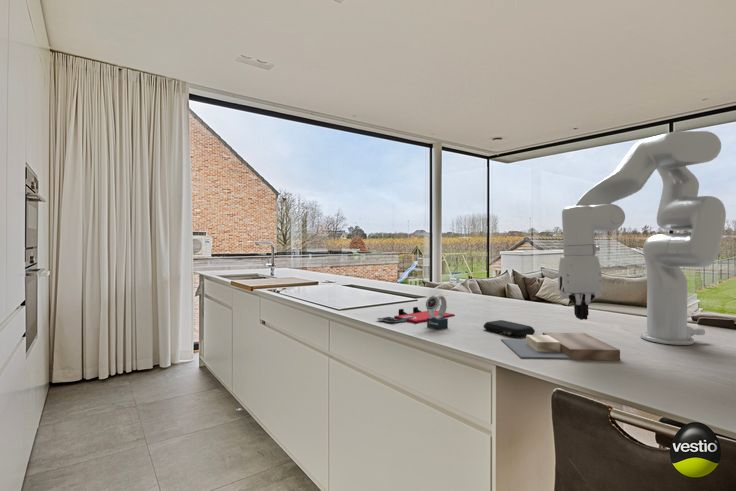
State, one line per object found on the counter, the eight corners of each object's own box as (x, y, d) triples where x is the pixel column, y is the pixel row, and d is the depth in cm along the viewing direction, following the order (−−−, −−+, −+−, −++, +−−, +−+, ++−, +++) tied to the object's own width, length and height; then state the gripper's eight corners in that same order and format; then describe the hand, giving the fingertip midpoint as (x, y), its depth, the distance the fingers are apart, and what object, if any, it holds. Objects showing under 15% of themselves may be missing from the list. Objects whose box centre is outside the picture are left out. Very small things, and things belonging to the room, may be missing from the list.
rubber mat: (542, 340, 115) (542, 339, 115) (570, 359, 97) (570, 357, 97) (501, 340, 116) (501, 339, 116) (520, 358, 98) (520, 356, 98)
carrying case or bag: (478, 330, 130) (515, 340, 118) (478, 321, 130) (515, 330, 118) (500, 327, 136) (537, 336, 123) (500, 318, 136) (537, 326, 123)
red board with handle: (372, 320, 147) (401, 327, 136) (373, 312, 147) (401, 319, 135) (425, 312, 166) (454, 317, 155) (425, 305, 166) (454, 310, 155)
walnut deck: (584, 341, 115) (584, 333, 115) (620, 359, 97) (620, 349, 97) (542, 340, 115) (542, 332, 115) (570, 359, 97) (570, 349, 97)
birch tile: (547, 343, 110) (547, 335, 110) (560, 351, 102) (560, 342, 102) (526, 343, 111) (526, 334, 111) (537, 351, 103) (537, 342, 103)
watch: (423, 327, 134) (423, 295, 134) (438, 324, 139) (438, 293, 139) (436, 330, 129) (436, 297, 129) (451, 326, 135) (451, 295, 135)
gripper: (600, 249, 109) (602, 314, 110) (545, 252, 110) (548, 316, 110) (615, 250, 102) (618, 320, 102) (556, 253, 103) (559, 322, 103)
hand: (581, 318), depth 106 cm, fingers closed
